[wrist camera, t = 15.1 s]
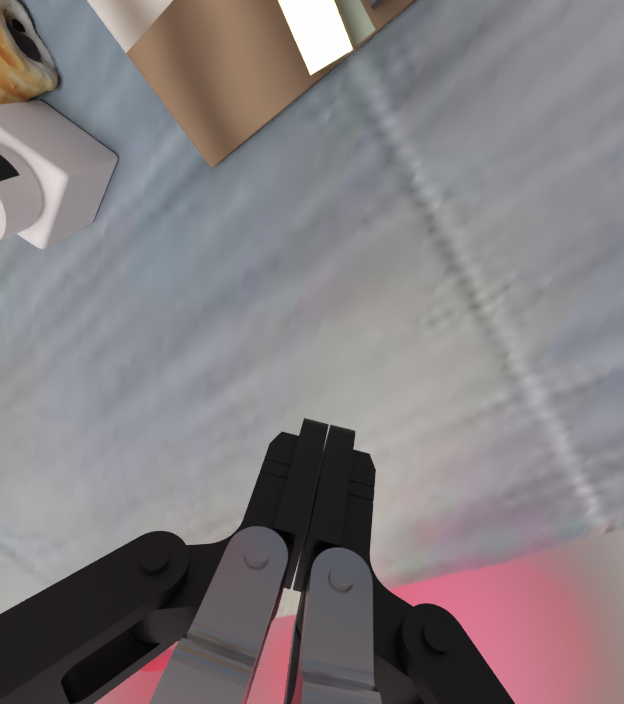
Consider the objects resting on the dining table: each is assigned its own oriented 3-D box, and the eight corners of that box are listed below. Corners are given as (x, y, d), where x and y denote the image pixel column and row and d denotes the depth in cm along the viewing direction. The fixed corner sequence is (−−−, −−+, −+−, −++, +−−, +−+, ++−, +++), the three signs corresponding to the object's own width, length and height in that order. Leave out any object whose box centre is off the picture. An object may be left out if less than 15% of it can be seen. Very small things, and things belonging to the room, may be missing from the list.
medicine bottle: (19, 173, 39) (-111, 213, 29) (39, 97, 35) (-103, 114, 25) (93, 223, 40) (-6, 278, 30) (120, 156, 36) (16, 194, 27)
